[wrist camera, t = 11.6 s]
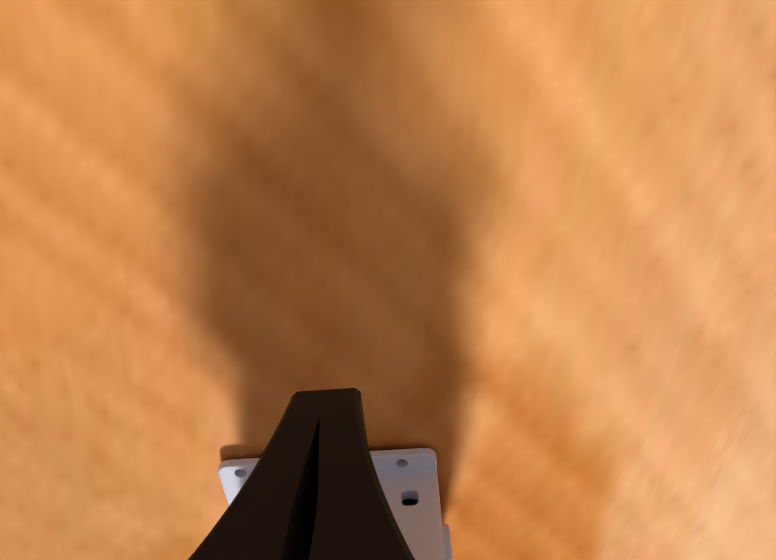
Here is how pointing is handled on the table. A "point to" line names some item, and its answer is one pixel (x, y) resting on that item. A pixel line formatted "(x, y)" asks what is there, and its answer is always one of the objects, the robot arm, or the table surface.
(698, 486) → the table surface
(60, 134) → the table surface
